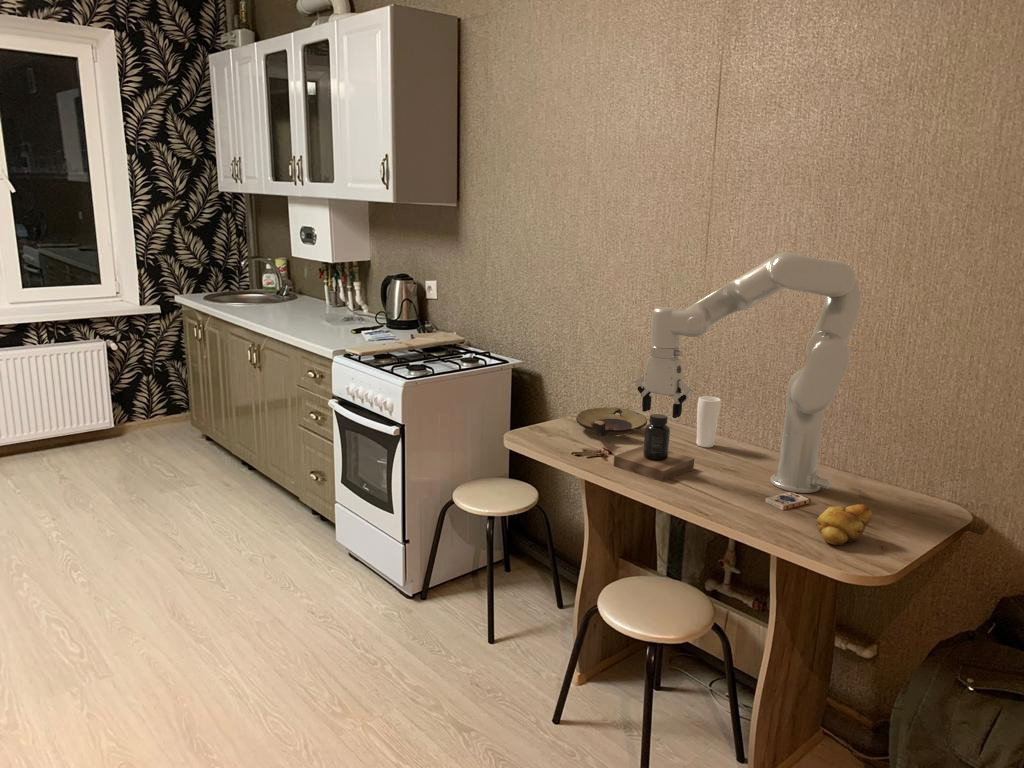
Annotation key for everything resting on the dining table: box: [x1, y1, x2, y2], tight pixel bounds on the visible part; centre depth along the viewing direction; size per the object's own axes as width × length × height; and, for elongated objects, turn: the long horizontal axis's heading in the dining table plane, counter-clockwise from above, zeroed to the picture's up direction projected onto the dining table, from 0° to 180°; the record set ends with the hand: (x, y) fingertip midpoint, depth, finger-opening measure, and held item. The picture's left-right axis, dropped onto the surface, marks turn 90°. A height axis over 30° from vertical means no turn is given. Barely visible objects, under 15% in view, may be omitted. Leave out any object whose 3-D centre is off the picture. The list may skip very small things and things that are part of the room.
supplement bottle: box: [643, 413, 671, 461], centre depth 209 cm, size 7×7×12 cm
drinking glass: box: [696, 395, 722, 448], centre depth 231 cm, size 7×7×15 cm
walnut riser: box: [613, 445, 695, 482], centre depth 211 cm, size 16×16×3 cm
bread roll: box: [816, 503, 872, 546], centre depth 169 cm, size 13×10×8 cm
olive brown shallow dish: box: [575, 406, 648, 438], centre depth 241 cm, size 22×30×8 cm
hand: (661, 413), depth 207 cm, fingers open, 9 cm apart
